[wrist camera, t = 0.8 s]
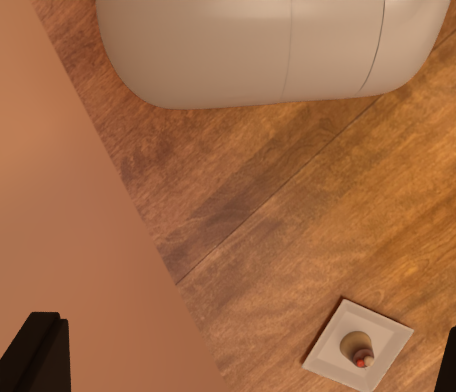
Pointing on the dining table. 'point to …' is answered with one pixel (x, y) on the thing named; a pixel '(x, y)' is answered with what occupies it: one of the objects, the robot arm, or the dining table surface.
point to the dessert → (357, 347)
